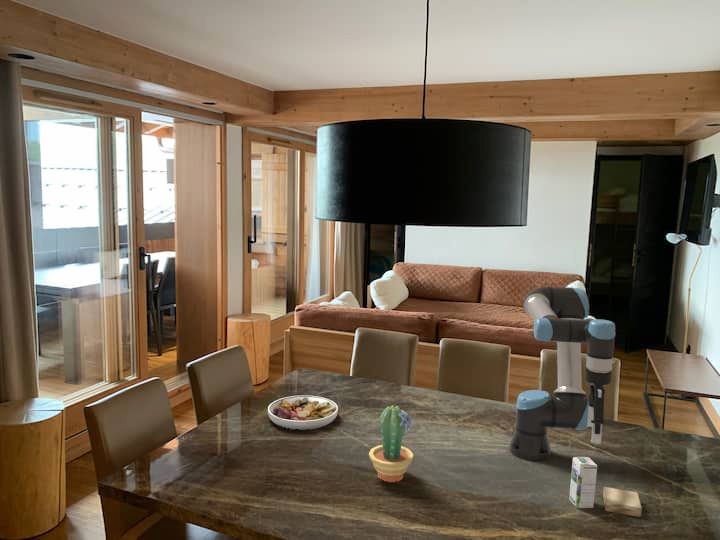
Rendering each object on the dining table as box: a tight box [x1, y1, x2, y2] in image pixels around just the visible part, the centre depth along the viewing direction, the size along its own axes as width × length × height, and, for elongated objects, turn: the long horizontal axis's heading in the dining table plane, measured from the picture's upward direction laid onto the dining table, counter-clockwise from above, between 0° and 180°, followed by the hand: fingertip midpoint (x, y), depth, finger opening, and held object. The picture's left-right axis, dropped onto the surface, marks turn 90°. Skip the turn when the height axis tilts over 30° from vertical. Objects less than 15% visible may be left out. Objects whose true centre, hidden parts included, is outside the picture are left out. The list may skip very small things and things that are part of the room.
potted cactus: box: [368, 404, 414, 483], centre depth 197 cm, size 15×15×25 cm
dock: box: [602, 486, 643, 518], centre depth 182 cm, size 10×10×3 cm
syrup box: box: [568, 456, 598, 509], centre depth 182 cm, size 6×6×14 cm
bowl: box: [267, 395, 339, 431], centre depth 247 cm, size 30×30×8 cm
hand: (593, 434), depth 182 cm, fingers open, 13 cm apart
